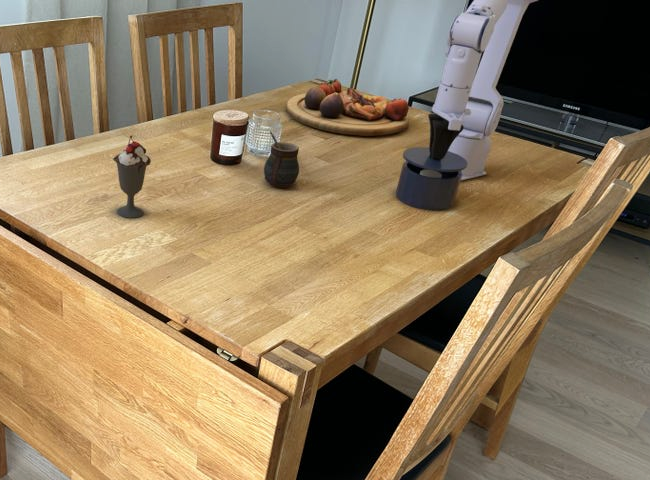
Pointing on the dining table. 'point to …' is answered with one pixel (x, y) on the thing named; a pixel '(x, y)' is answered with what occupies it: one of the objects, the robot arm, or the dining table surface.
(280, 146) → the mate gourd
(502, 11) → the robot arm
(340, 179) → the dining table surface
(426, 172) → the tub
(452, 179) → the dark blue round container
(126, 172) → the sundae
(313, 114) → the wooden plate
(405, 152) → the lid
